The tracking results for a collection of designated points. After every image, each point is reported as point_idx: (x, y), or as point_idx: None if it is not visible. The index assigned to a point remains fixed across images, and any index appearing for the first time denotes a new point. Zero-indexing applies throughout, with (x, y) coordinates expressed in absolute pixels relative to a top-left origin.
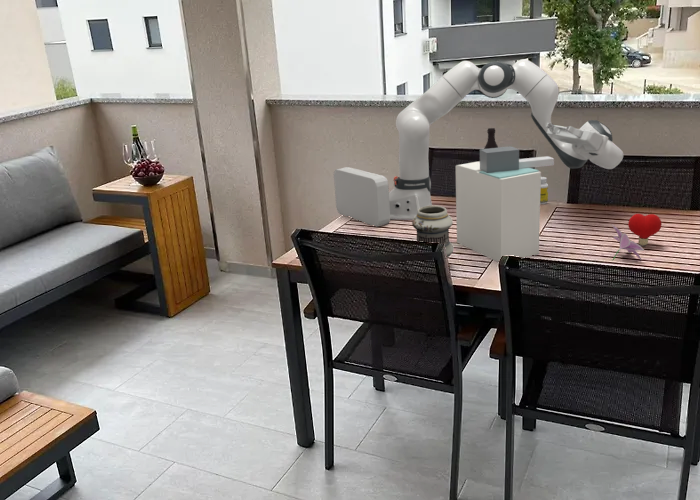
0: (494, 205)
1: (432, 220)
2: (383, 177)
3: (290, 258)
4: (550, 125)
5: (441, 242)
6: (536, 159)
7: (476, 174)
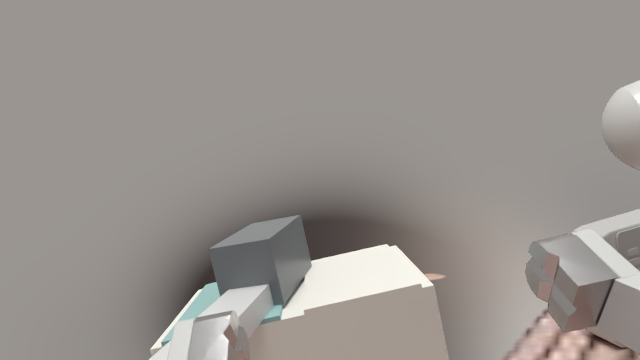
0: None
1: None
2: (599, 234)
3: (435, 278)
4: (540, 266)
5: None
6: None
7: None
